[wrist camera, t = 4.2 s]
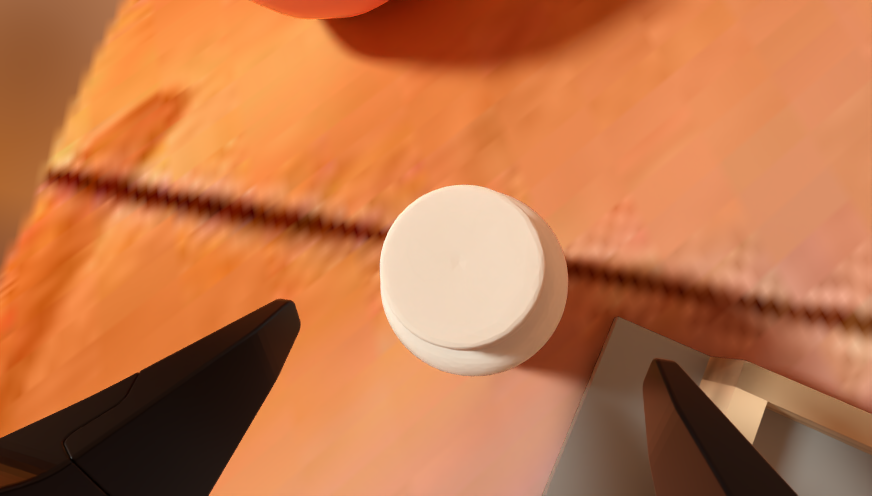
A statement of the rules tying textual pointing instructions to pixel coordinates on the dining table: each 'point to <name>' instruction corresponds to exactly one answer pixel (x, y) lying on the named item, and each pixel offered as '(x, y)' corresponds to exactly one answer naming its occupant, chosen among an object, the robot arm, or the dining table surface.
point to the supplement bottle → (472, 280)
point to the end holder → (781, 402)
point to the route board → (627, 442)
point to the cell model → (320, 7)
